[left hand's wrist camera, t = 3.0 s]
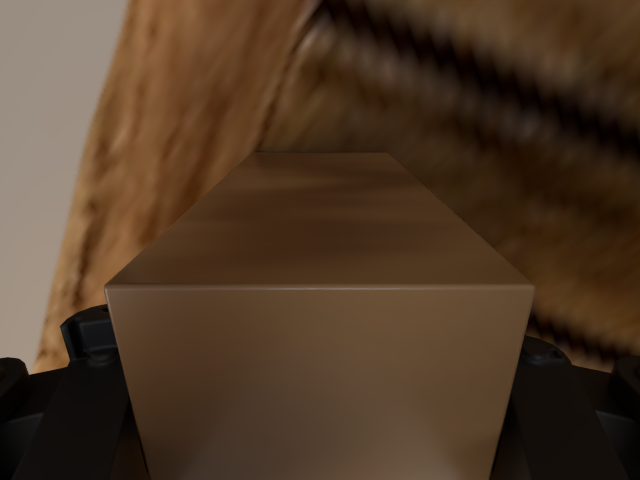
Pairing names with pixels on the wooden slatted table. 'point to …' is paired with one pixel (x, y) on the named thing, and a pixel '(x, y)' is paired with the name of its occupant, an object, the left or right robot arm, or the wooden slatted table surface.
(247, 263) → the block
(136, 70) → the wooden slatted table surface
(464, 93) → the wooden slatted table surface
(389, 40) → the wooden slatted table surface
